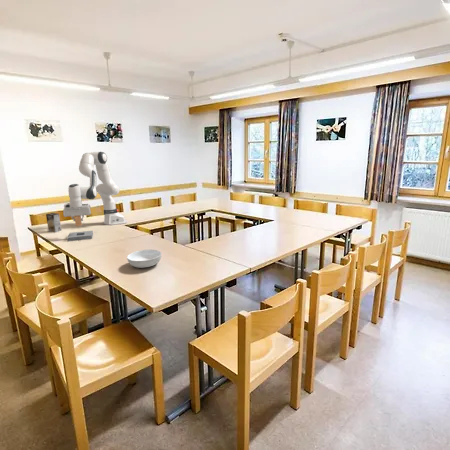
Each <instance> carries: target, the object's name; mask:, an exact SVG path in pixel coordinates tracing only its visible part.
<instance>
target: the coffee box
mask: <svg viewBox="0 0 450 450" xmlns="http://www.w3.org/2000/svg"><path fill="white" fill-rule="evenodd" d="M45 217H46V223H47V224H46V225H47V231H48V232H51V233H57V232H58V233H59V232H61V231H62V225H61V219H60V218H61V217H60V213H59V212H58V213H55V212H50V213H46V214H45Z"/></svg>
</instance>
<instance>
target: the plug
mask: <svg viewBox="0 0 450 450" xmlns="http://www.w3.org/2000/svg"><path fill="white" fill-rule="evenodd" d="M81 218H82V216H74V219H75V221H74V222H75V226H76V227H81V226H82V225H83V223H82V221H81Z"/></svg>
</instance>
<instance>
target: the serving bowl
mask: <svg viewBox="0 0 450 450" xmlns="http://www.w3.org/2000/svg"><path fill="white" fill-rule="evenodd" d="M161 258H162V252H161V251H160V250H158V249H141V250H136V251H133V252H131V253H129V254H127V256H126V259H127V262H128V264H129V265H130V266H132V267H134V268H141V269H142V268H143V269H144V268H149V267H153V266H155V265H157V264H159V262H160V261H161Z"/></svg>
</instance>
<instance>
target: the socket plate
mask: <svg viewBox="0 0 450 450" xmlns="http://www.w3.org/2000/svg"><path fill="white" fill-rule="evenodd" d="M93 237H94V230H84V231H83V230H82V231H73V232H69V233H68V235H67V237H66V238H67V242H76V241H84V240H92V239H93Z"/></svg>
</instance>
